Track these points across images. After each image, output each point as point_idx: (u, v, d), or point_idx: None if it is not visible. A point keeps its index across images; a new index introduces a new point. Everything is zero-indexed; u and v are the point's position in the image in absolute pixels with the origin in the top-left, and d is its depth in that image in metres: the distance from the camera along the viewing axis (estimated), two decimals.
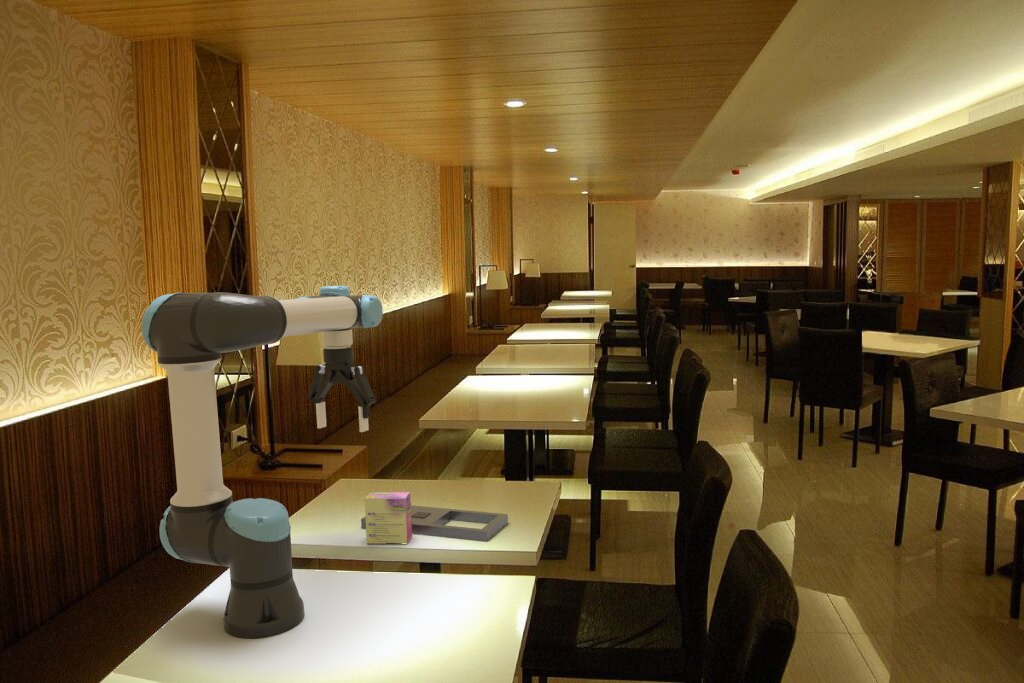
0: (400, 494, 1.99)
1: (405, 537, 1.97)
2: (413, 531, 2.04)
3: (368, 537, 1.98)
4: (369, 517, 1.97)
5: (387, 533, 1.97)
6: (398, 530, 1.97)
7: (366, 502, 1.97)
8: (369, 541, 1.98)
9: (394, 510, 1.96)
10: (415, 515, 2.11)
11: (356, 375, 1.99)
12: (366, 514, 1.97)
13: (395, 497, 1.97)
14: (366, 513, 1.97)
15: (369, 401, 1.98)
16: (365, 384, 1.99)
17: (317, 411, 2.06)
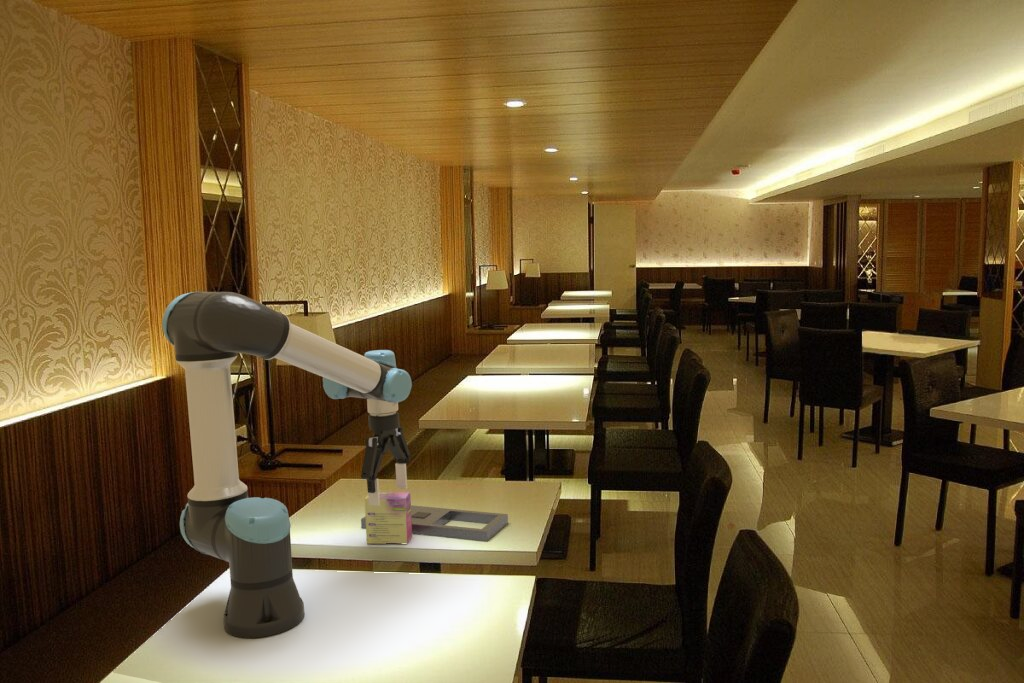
0: (400, 494, 1.99)
1: (405, 537, 1.97)
2: (413, 531, 2.04)
3: (368, 537, 1.98)
4: (369, 517, 1.97)
5: (387, 533, 1.97)
6: (398, 530, 1.97)
7: (366, 502, 1.97)
8: (369, 541, 1.98)
9: (394, 510, 1.96)
10: (415, 515, 2.11)
11: None
12: (366, 514, 1.97)
13: (395, 497, 1.97)
14: (366, 513, 1.97)
15: (361, 476, 1.90)
16: (367, 457, 1.91)
17: None
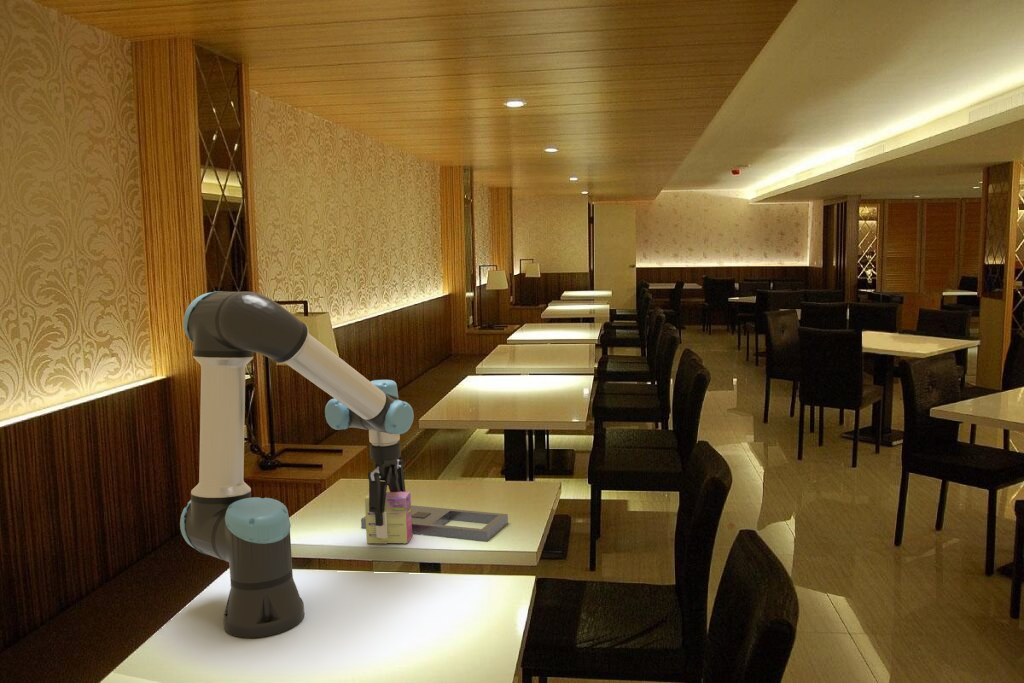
0: (400, 494, 1.99)
1: (405, 537, 1.97)
2: (413, 531, 2.04)
3: (368, 537, 1.98)
4: (369, 517, 1.97)
5: (387, 533, 1.97)
6: (398, 530, 1.97)
7: (366, 501, 1.97)
8: (369, 541, 1.98)
9: (394, 510, 1.96)
10: (415, 515, 2.11)
11: None
12: (366, 514, 1.97)
13: (395, 497, 1.97)
14: (366, 513, 1.97)
15: None
16: (372, 492, 1.93)
17: None
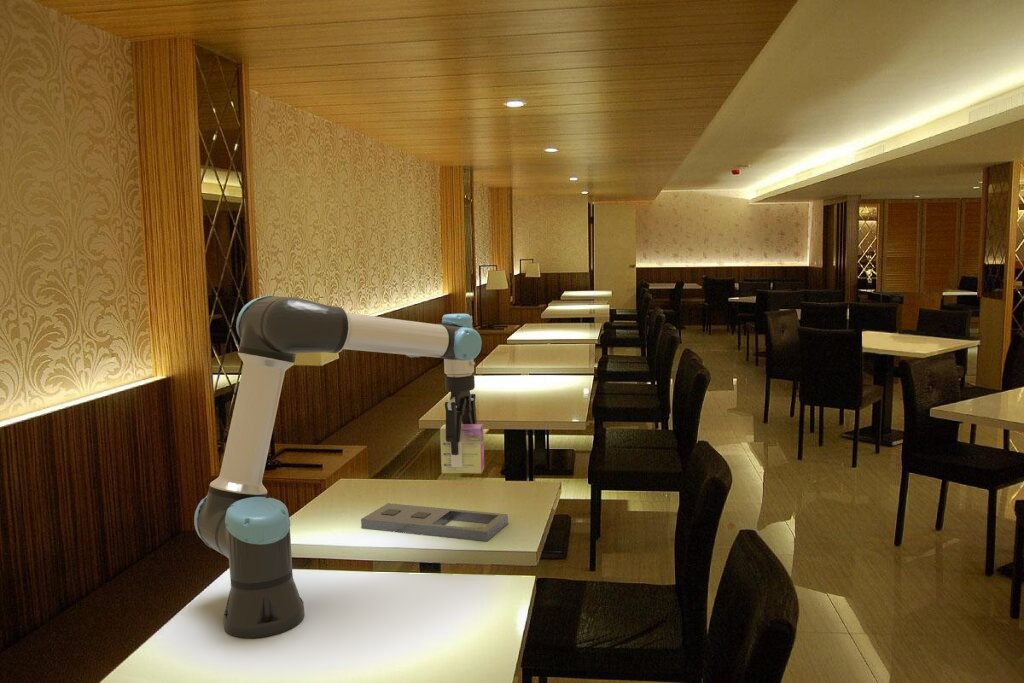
0: (474, 425, 2.04)
1: (479, 466, 2.02)
2: (413, 531, 2.04)
3: (443, 467, 2.03)
4: (444, 447, 2.02)
5: (462, 463, 2.02)
6: (472, 460, 2.02)
7: (441, 432, 2.02)
8: (444, 470, 2.03)
9: (468, 440, 2.01)
10: (415, 515, 2.11)
11: None
12: (441, 444, 2.02)
13: (470, 427, 2.02)
14: (441, 443, 2.02)
15: (446, 439, 1.98)
16: (449, 421, 1.98)
17: None
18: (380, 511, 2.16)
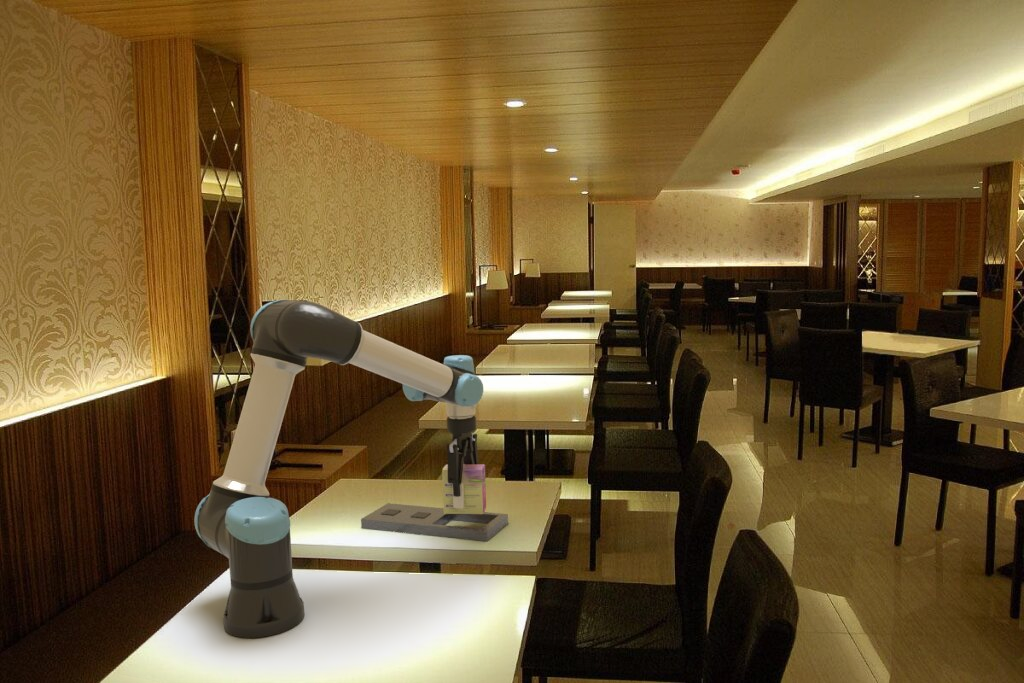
0: (475, 466, 2.05)
1: (481, 507, 2.03)
2: (413, 531, 2.04)
3: (445, 507, 2.04)
4: (446, 488, 2.03)
5: (464, 504, 2.03)
6: (474, 501, 2.03)
7: (443, 473, 2.03)
8: (446, 511, 2.04)
9: (470, 481, 2.02)
10: (415, 515, 2.11)
11: None
12: (443, 485, 2.03)
13: (471, 468, 2.03)
14: (443, 484, 2.03)
15: (448, 481, 2.00)
16: (451, 463, 1.99)
17: None
18: (380, 511, 2.16)
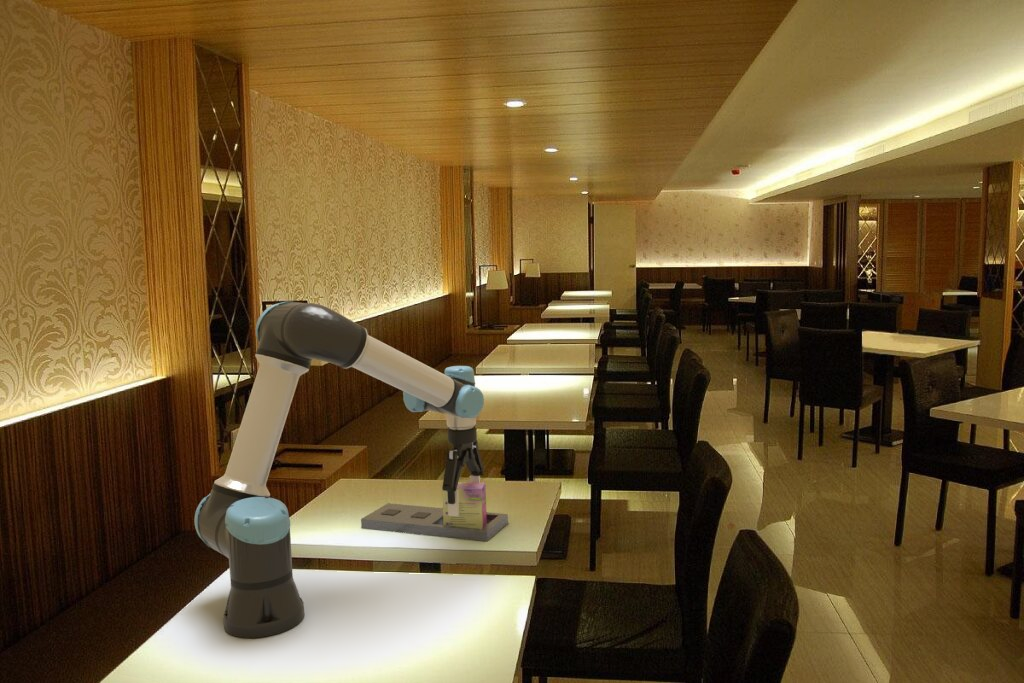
0: (476, 484, 2.06)
1: (481, 526, 2.03)
2: (413, 531, 2.04)
3: None
4: (446, 506, 2.04)
5: (464, 522, 2.04)
6: (474, 519, 2.03)
7: (443, 491, 2.04)
8: None
9: (470, 499, 2.03)
10: (415, 515, 2.11)
11: None
12: (443, 503, 2.04)
13: (471, 487, 2.03)
14: (443, 502, 2.04)
15: None
16: (448, 470, 1.98)
17: None
18: (380, 511, 2.16)
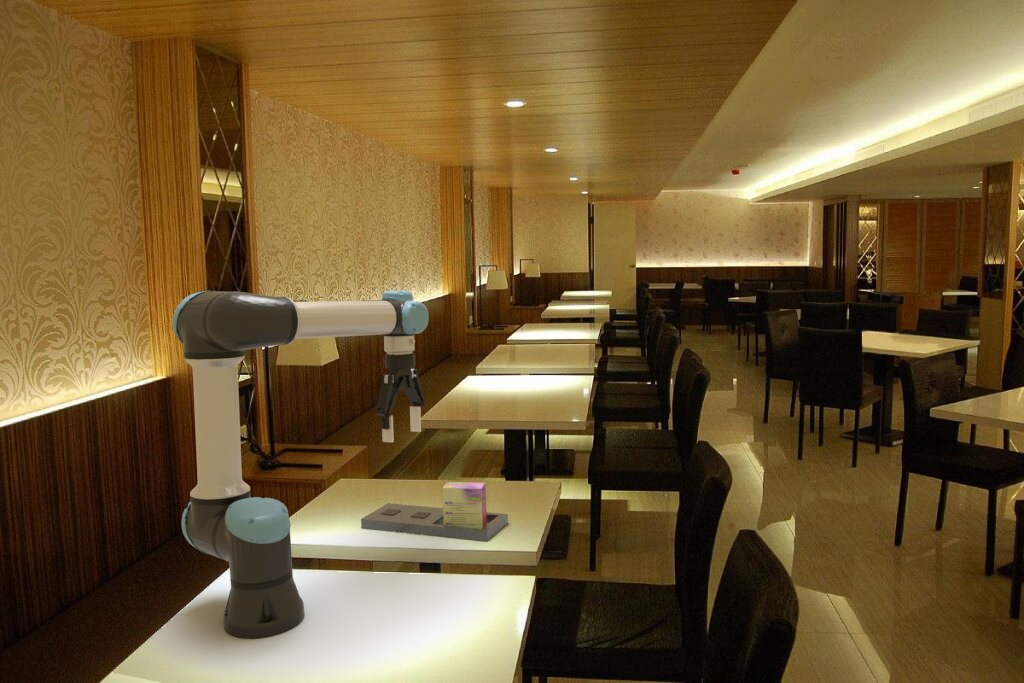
0: (476, 484, 2.06)
1: (481, 526, 2.03)
2: (413, 531, 2.04)
3: None
4: (446, 506, 2.04)
5: (464, 522, 2.04)
6: (474, 519, 2.03)
7: (443, 491, 2.04)
8: None
9: (470, 499, 2.03)
10: (415, 515, 2.11)
11: None
12: (443, 503, 2.04)
13: (471, 487, 2.03)
14: (443, 502, 2.04)
15: (376, 411, 1.92)
16: (382, 394, 1.92)
17: None
18: (380, 511, 2.16)
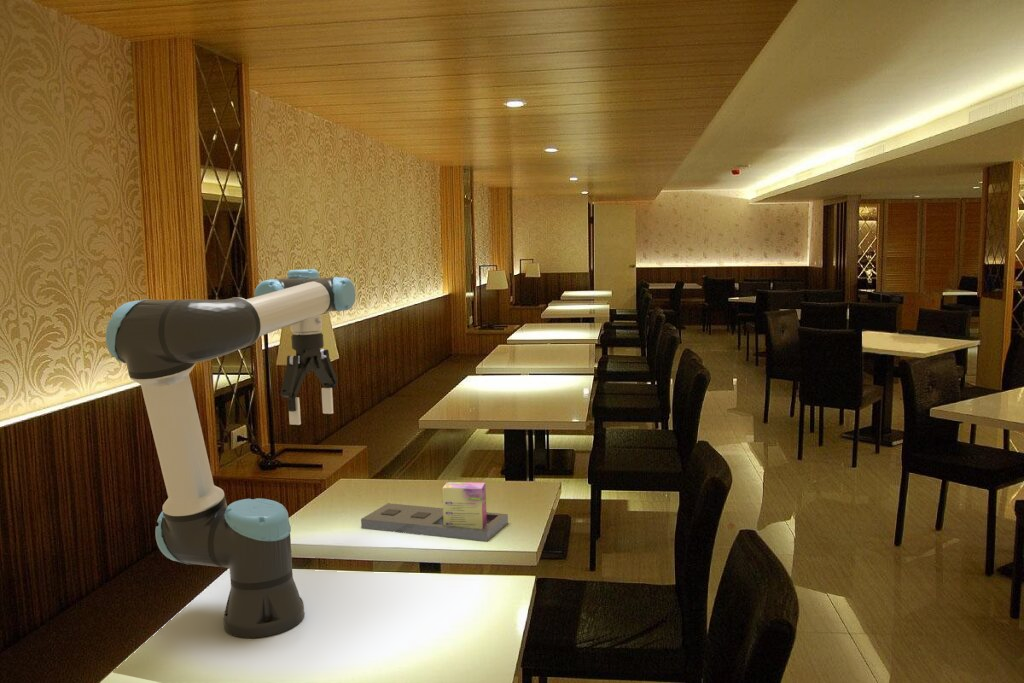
0: (476, 484, 2.06)
1: (481, 526, 2.03)
2: (413, 531, 2.04)
3: None
4: (446, 506, 2.04)
5: (464, 522, 2.04)
6: (474, 519, 2.03)
7: (443, 491, 2.04)
8: None
9: (470, 499, 2.03)
10: (415, 515, 2.11)
11: None
12: (443, 503, 2.04)
13: (471, 487, 2.03)
14: (443, 502, 2.04)
15: None
16: (287, 375, 1.88)
17: None
18: (380, 511, 2.16)
